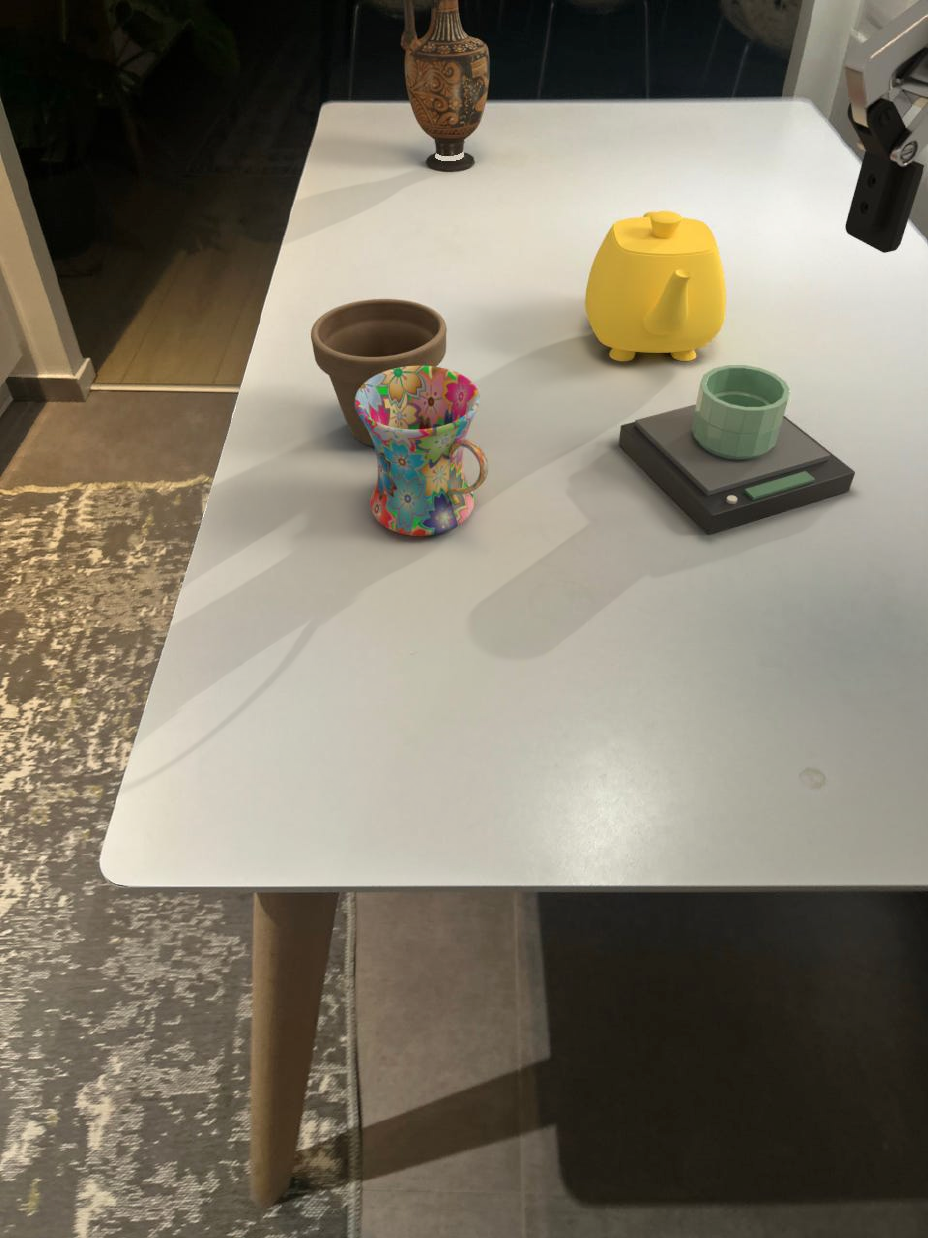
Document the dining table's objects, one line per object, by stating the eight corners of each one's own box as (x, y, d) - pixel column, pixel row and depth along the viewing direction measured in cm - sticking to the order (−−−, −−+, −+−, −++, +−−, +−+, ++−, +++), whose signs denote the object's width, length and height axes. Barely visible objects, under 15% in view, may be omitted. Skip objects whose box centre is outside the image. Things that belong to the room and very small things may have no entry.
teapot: (700, 301, 102) (721, 180, 93) (737, 397, 87) (766, 266, 78) (575, 302, 102) (585, 181, 93) (592, 398, 88) (605, 267, 79)
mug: (343, 509, 76) (328, 395, 68) (427, 463, 80) (422, 352, 73) (441, 580, 70) (437, 463, 62) (526, 526, 74) (532, 411, 67)
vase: (498, 172, 131) (501, -93, 110) (412, 180, 129) (399, -88, 108) (478, 145, 139) (478, -106, 118) (397, 152, 137) (382, -102, 116)
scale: (849, 491, 77) (858, 465, 75) (707, 535, 73) (713, 509, 71) (748, 409, 86) (754, 384, 84) (618, 444, 82) (621, 419, 80)
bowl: (792, 451, 77) (807, 398, 73) (721, 470, 75) (733, 417, 71) (743, 409, 81) (755, 357, 78) (675, 427, 79) (684, 375, 76)
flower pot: (359, 385, 90) (349, 286, 83) (467, 408, 87) (466, 307, 80) (300, 448, 82) (284, 344, 75) (416, 476, 79) (410, 370, 72)
